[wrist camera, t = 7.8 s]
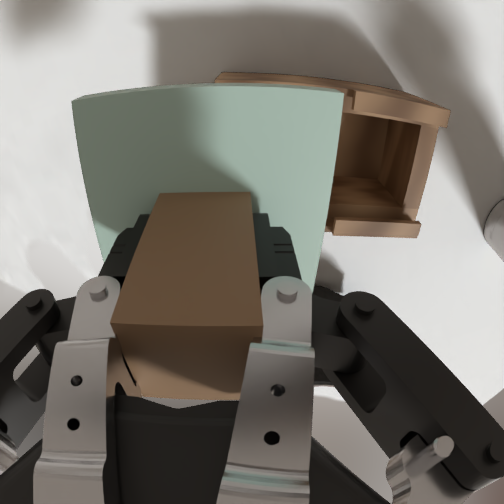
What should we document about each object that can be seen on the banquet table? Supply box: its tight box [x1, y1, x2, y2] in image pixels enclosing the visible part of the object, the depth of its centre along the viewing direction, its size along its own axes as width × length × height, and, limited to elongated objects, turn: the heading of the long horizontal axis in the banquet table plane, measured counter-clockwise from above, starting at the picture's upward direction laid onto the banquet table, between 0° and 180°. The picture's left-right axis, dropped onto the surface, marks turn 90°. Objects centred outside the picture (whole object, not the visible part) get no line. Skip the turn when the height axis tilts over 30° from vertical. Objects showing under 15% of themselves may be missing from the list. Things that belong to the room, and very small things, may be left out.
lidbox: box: [215, 72, 450, 238], centre depth 29 cm, size 20×13×10 cm, turn 88°
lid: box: [72, 83, 344, 400], centre depth 10 cm, size 9×11×7 cm
